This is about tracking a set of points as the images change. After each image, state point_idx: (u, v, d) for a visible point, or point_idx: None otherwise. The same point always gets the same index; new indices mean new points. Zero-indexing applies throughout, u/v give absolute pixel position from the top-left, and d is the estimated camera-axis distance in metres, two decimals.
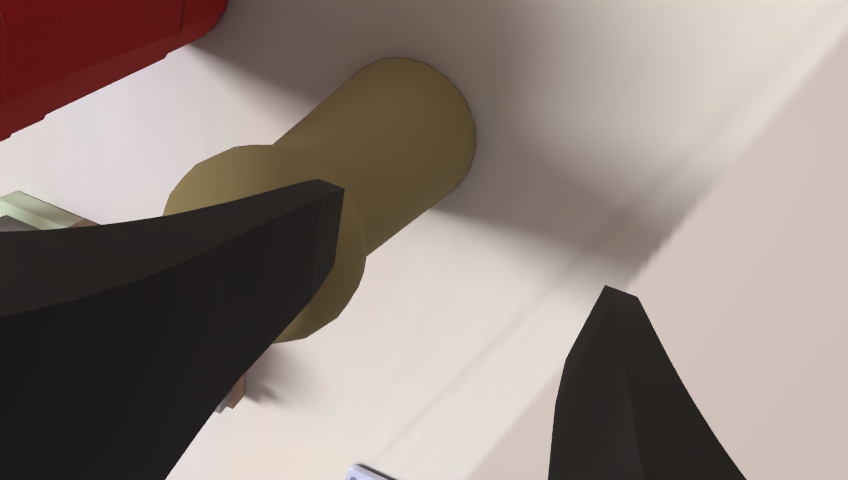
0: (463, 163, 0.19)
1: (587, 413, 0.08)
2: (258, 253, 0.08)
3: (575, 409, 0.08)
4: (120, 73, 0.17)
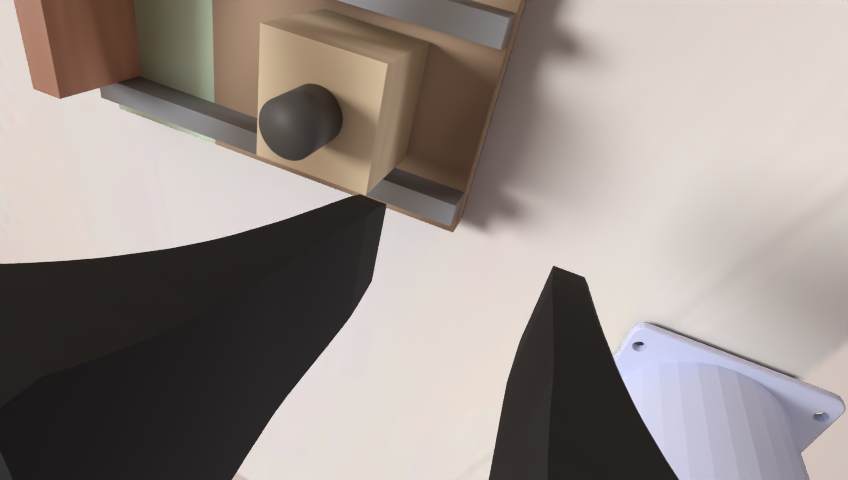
0: None
1: (525, 387, 0.08)
2: (310, 274, 0.08)
3: (518, 385, 0.09)
4: None
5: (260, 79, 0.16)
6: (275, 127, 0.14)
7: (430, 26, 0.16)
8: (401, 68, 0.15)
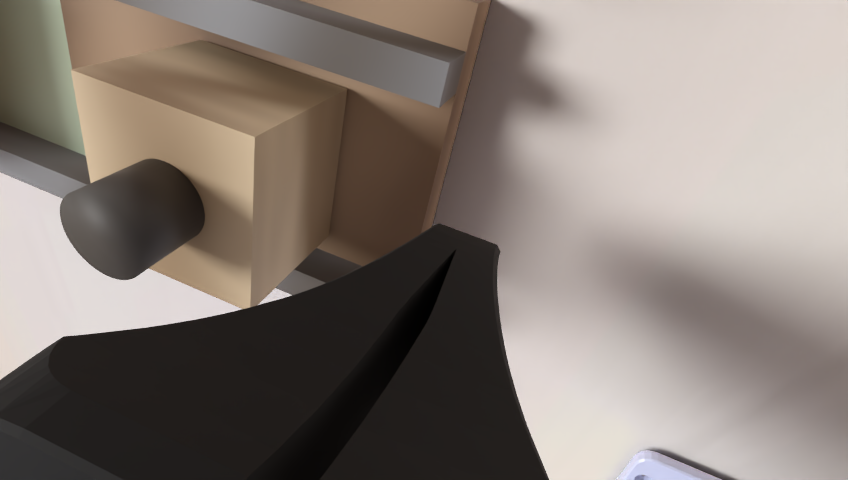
0: None
1: None
2: (411, 315, 0.08)
3: None
4: None
5: (86, 149, 0.11)
6: (85, 232, 0.09)
7: (338, 71, 0.11)
8: (292, 136, 0.10)
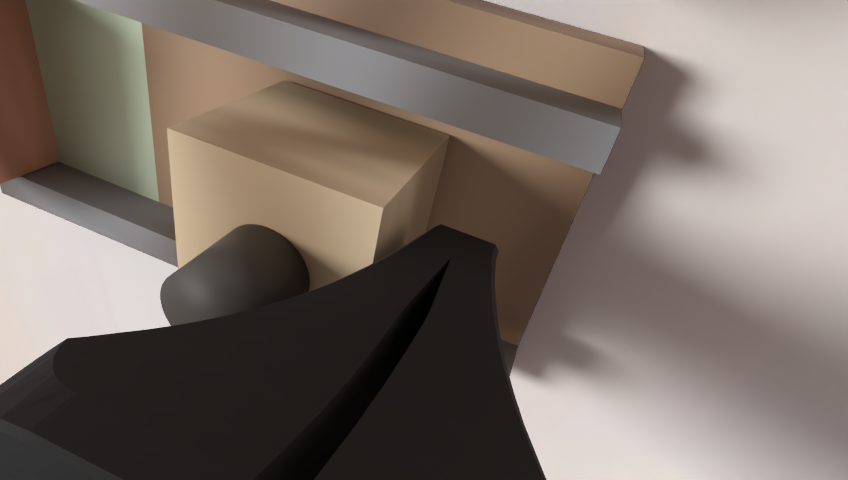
0: None
1: None
2: (413, 316, 0.08)
3: None
4: None
5: (176, 210, 0.09)
6: (189, 313, 0.08)
7: (481, 131, 0.09)
8: (406, 197, 0.09)
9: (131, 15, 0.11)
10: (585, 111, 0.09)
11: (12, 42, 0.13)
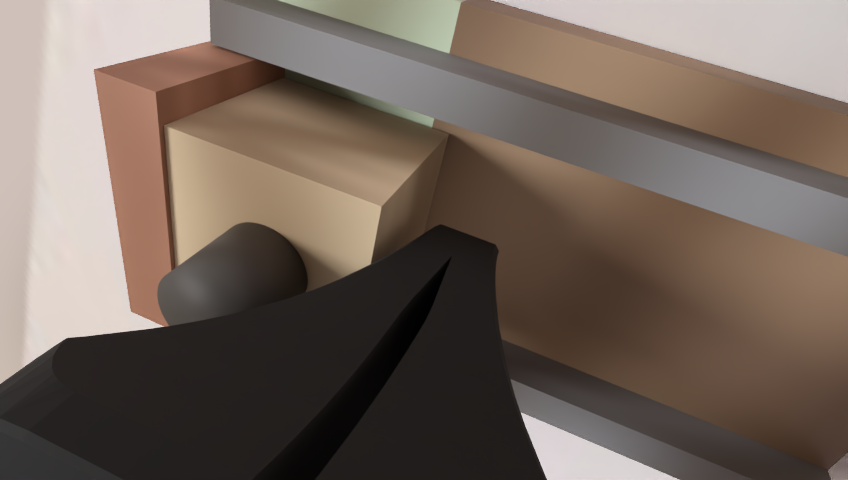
0: None
1: None
2: (413, 316, 0.08)
3: None
4: None
5: (173, 209, 0.09)
6: (186, 312, 0.08)
7: None
8: (405, 195, 0.09)
9: (466, 124, 0.09)
10: None
11: None
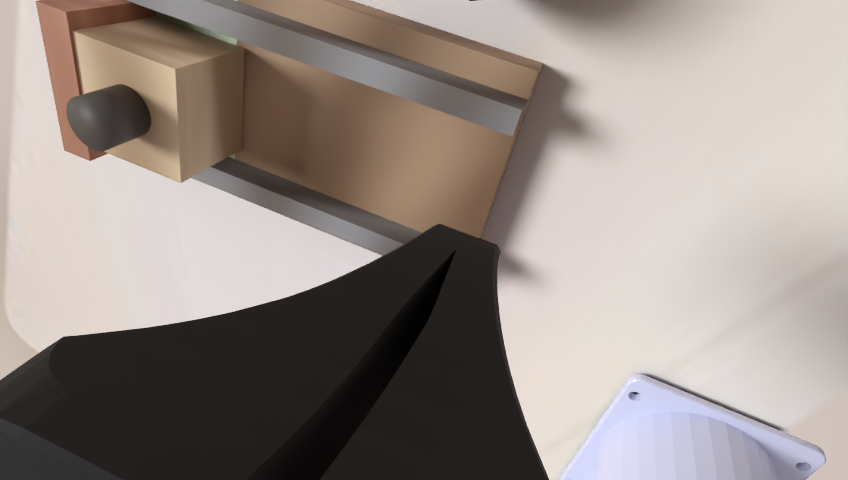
0: None
1: None
2: (411, 315, 0.08)
3: None
4: None
5: (81, 79, 0.18)
6: (80, 122, 0.17)
7: (447, 111, 0.17)
8: (202, 72, 0.17)
9: (238, 37, 0.18)
10: (504, 100, 0.16)
11: None
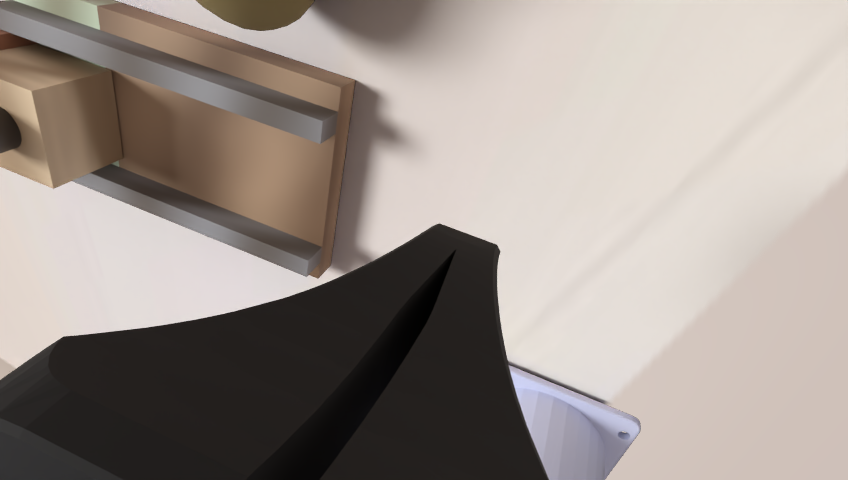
0: None
1: None
2: (410, 315, 0.08)
3: None
4: None
5: None
6: None
7: (267, 123, 0.19)
8: (63, 92, 0.20)
9: (97, 62, 0.21)
10: (311, 113, 0.19)
11: None
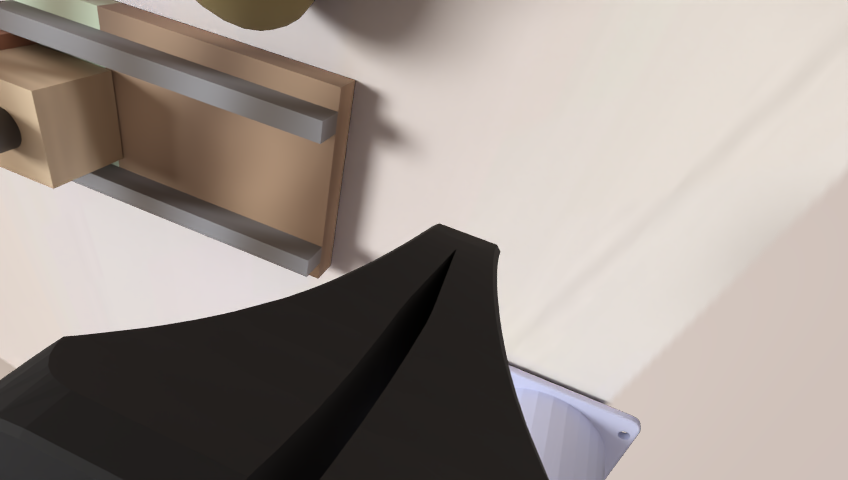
0: None
1: None
2: (410, 315, 0.08)
3: None
4: None
5: None
6: None
7: (267, 123, 0.19)
8: (63, 92, 0.20)
9: (97, 62, 0.21)
10: (311, 113, 0.19)
11: None
